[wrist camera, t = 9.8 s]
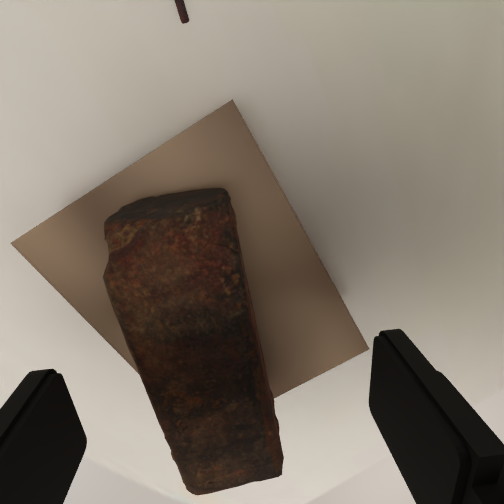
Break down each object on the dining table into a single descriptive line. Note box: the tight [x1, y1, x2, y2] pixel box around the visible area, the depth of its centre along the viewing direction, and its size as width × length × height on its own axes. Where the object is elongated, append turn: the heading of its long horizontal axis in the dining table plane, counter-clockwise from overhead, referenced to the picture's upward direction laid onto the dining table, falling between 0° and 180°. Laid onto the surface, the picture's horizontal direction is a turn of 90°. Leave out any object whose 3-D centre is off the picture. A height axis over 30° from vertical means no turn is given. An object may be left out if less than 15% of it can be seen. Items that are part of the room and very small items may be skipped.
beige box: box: [11, 100, 369, 398], centre depth 17 cm, size 10×13×5 cm
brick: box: [103, 188, 284, 495], centre depth 12 cm, size 11×4×5 cm, turn 10°
